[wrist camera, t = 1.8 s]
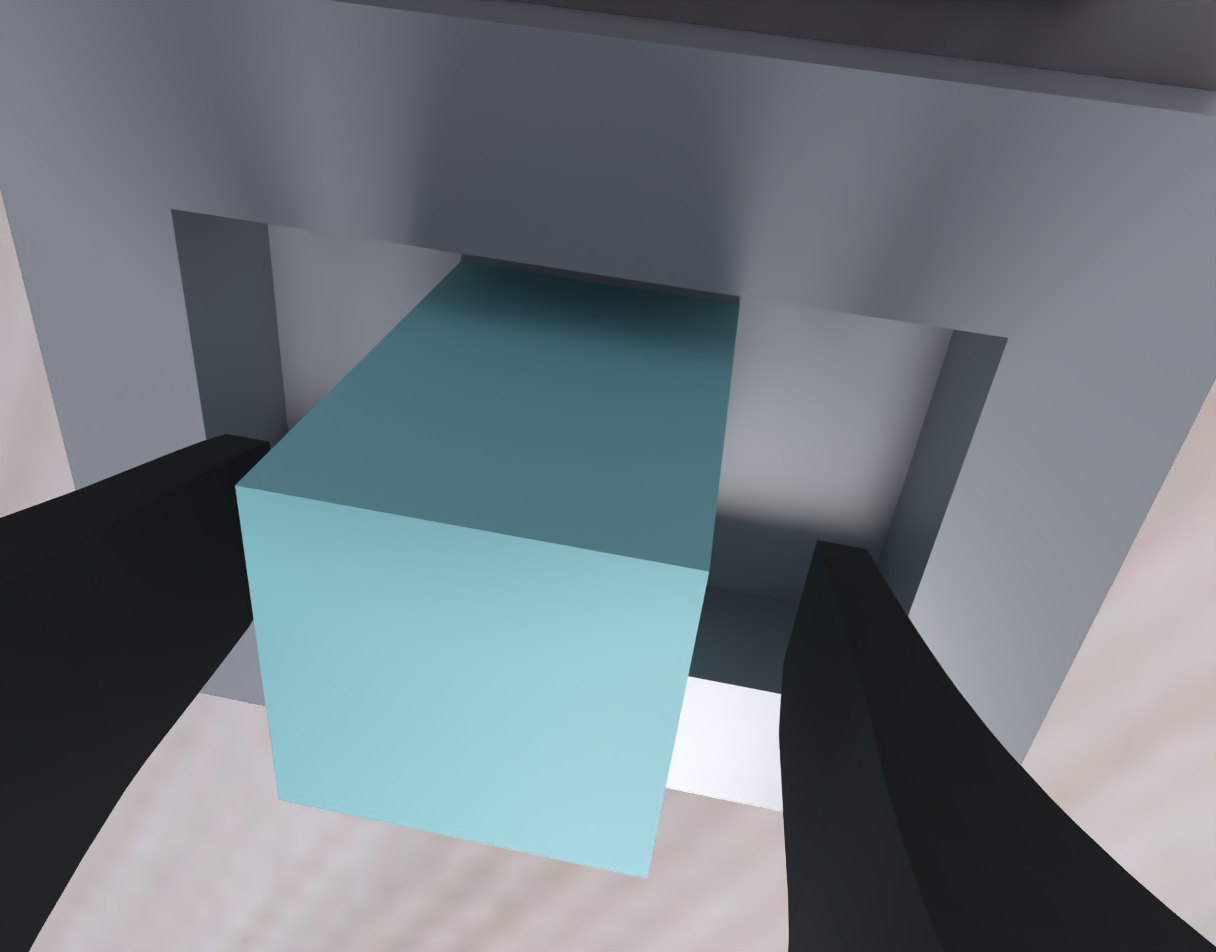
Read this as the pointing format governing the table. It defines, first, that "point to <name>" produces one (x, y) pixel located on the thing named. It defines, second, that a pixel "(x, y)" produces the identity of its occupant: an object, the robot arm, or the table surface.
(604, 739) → the teal block
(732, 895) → the table surface
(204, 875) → the table surface
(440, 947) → the table surface
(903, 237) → the pocket plate
